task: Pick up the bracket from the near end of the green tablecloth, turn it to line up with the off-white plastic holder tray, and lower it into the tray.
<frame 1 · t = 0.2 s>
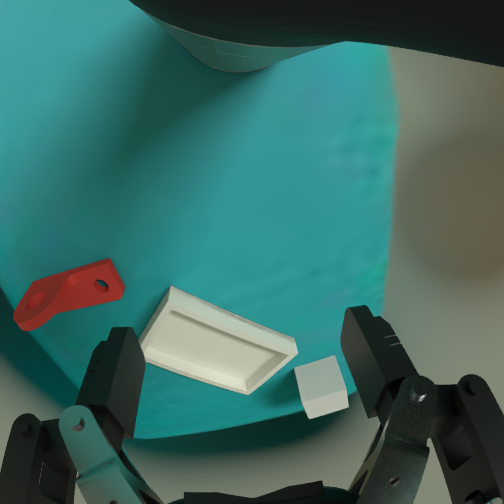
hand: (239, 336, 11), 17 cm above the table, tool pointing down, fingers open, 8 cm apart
holder tray: (214, 342, 36), on the table
bracket: (77, 285, 30), on the table
white cube: (317, 370, 42), on the table
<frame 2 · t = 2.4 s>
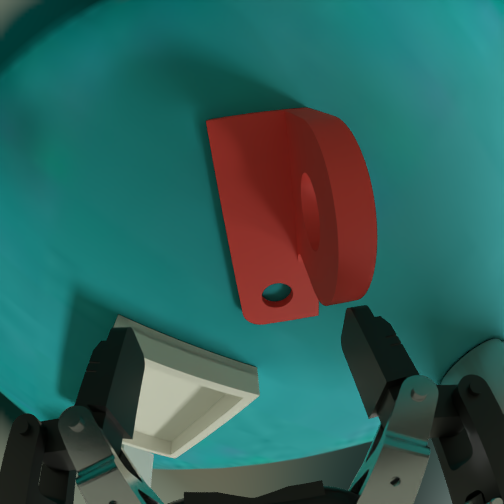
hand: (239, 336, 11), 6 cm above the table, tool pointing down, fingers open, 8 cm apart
holder tray: (153, 396, 23), on the table
bracket: (270, 223, 16), on the table
white cube: (123, 445, 30), on the table
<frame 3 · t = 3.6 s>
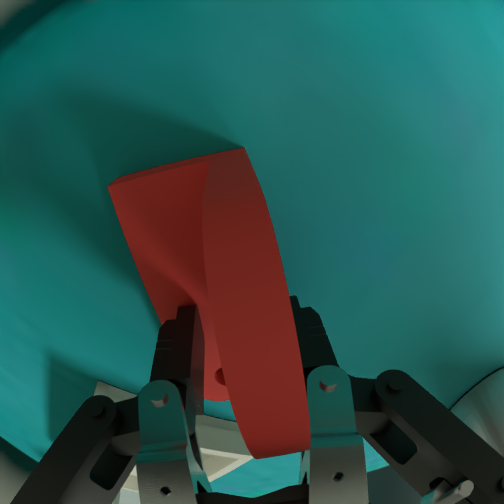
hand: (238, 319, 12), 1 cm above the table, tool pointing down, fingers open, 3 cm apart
holder tray: (145, 447, 20), on the table
bracket: (216, 297, 13), on the table, touching gripper
white cube: (120, 482, 27), on the table
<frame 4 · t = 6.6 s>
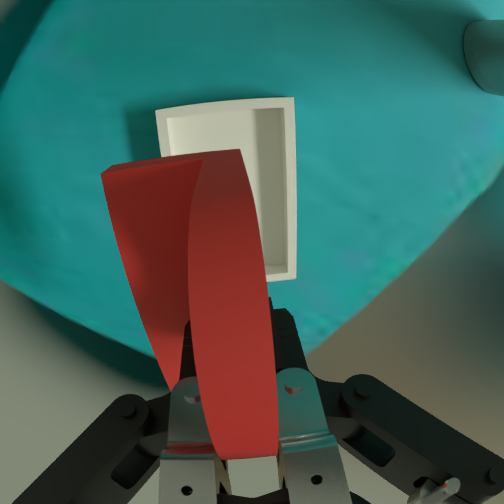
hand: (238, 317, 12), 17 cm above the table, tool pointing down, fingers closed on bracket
holder tray: (232, 192, 27), on the table
bracket: (197, 295, 13), point 16 cm above the table, touching gripper
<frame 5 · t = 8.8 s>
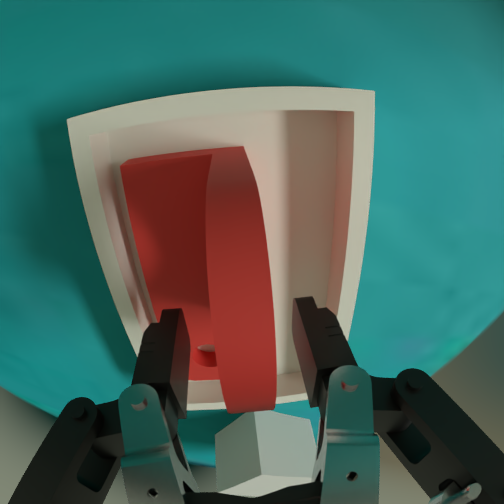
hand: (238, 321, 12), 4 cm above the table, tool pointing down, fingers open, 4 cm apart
holder tray: (234, 271, 15), on the table
bracket: (202, 279, 14), point 1 cm above the table, touching holder tray
white cube: (261, 426, 23), on the table
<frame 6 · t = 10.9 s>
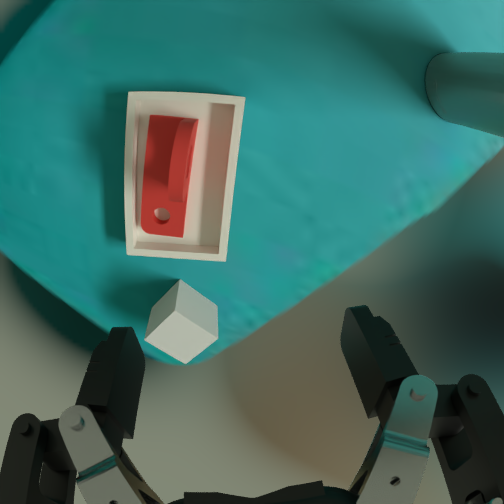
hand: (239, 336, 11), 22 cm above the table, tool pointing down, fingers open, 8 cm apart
holder tray: (181, 174, 29), on the table
bracket: (167, 175, 29), point 1 cm above the table, touching holder tray
white cube: (184, 305, 37), on the table
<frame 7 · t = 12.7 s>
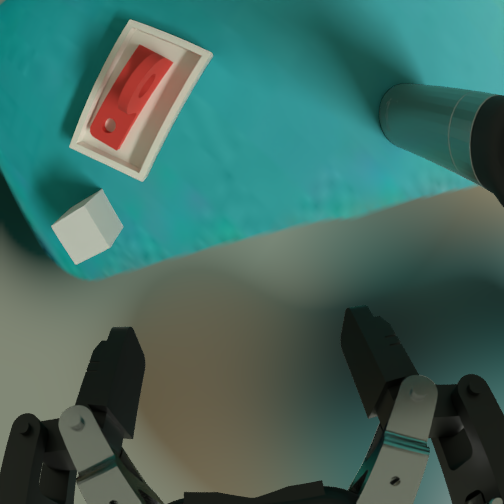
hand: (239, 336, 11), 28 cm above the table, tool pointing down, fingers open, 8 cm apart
holder tray: (138, 98, 30), on the table
bracket: (129, 96, 29), point 1 cm above the table, touching holder tray
white cube: (96, 216, 37), on the table
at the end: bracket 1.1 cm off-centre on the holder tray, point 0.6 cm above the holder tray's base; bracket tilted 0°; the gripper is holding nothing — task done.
